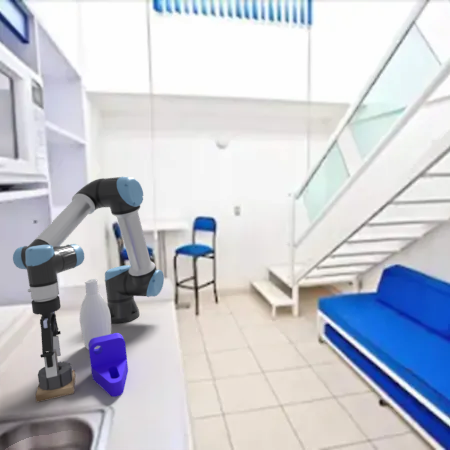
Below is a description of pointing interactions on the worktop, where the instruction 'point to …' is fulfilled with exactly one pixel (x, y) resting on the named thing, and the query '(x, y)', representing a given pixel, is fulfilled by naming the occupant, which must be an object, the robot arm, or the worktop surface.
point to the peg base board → (54, 393)
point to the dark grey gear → (56, 377)
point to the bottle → (94, 314)
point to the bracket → (109, 363)
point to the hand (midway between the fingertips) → (54, 365)
